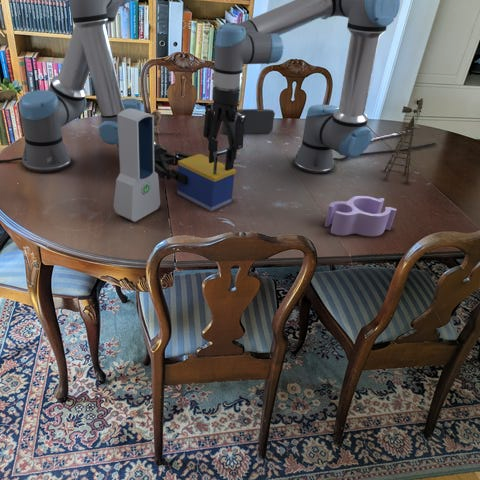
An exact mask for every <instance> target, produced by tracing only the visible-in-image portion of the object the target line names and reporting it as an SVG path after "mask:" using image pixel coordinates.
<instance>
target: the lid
mask: <svg viewBox="0 0 480 480" xmlns="http://www.w3.org/2000/svg"><path fill="white" fill-rule="evenodd" d="M227 149H229V146H226V147H224V148H221V149H217V151H215V152H213V156H214V162H213V163H209V156H206V155H204V154H202V153H197V154H194V155H191V157H188V158H185V159H182V160H179V161H178V165H180V166H182V167H184V168H187V169H189V170H191V171H193V172H195V173H197V174H199V175H201V176H203V177H205V178H207V179H210V180H212V181H214V182H216V181H218V180H221V179H223V178H225V177H228V176H230V175H233V174H234V175H235V174H236V173H237V169H235V168H233V169H231V170H228V171H226V170H225V168H226V158H225V160H224V163H223V162H220V161H218V157H221V156H224V155H225V157H226V156H227ZM178 165H177V166H178Z"/></svg>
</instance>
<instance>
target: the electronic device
mask: <svg viewBox="0 0 480 480" xmlns="http://www.w3.org/2000/svg"><path fill="white" fill-rule="evenodd" d="M151 114H152V113H148V112H145V111H144V112H142V111H139V110H136V109H132V108H129V109H125V110H123V111H121V112H120V113H119V114H118V115H117V118H118V138H119V148H118V154H119V155H118V156H119V174H118V176H117V177H116V180H115V190H114V198H113V205H112V206H113V209H114V212H115V213H116V214H117V215H118V216H120V217H123V218H124V219H127V220H129V221H131V222H133V223H136V222H137V221H139V220H141V219H142V218H145V217H146V216H148V215H150V214H151V213H153V212H155V211H157V210H158V209H159V208H160V206H161V193H160V181H159V179H160V178H159V176H158V174H157V173H156V172H154V143H155V126H154V115H151Z"/></svg>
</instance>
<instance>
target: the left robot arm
mask: <svg viewBox="0 0 480 480" xmlns="http://www.w3.org/2000/svg"><path fill="white" fill-rule="evenodd" d="M127 1H128V0H68V4H69V11H70V14H71V19H72V23H73V25H74V27H73V30H72V32H71V33H72V34H71V36H70V39H69V43H68V46H67V49H66V52H65V54H64V58H63V61H62V64H61V67H60V69H59V73H58V75H56V76H53V77H52V78H51V81H50V84H49V86H48V89H47V90H46V89H37V90H36V89H35V90H34V91H28V92H26V93H24V94H23V95H21V96H20V98H19V100H18V105H19V110H18V111H19V114H20V119H21V125H22V132H23V137H24V148H23V153H22V157H16V158H10V159H0V163H9V162H14V161H20V160H21V161H22V166H23V168H24V169H25V170H27V171H29V172H33V173H39V174H46V173H56V172H61V171H63V170H66V169H67V168H69V167H70V166H71V163H72V159H71V155H70V153H69V151H68V150H67V149H68V148H67V147H66V145H65V143H64V140H63V132H62V127H64V126H66V125H68V124H69V123H71V122H73V121H75V120H77V119H79V118H80V117H81V116H82V115H83V113H84V112H85V111H86V108H87V98H86V96H87V89H86V88H85V85H86V83H87V80H88V77H89V75H90V78H91V82H92V86H93V90H94V93H95V98H96V102H97V106H98V110H99V114H100V119H101V124H100V125H99V128H98V135H99V137H100V139H101V140H102V141H103V142H104V143H105V144H107V145H112V146H113V145H116V147H117V148H118V149H119V138H118V118H117V115H118V114H119V113H120V112H121V111H123V110H125V109H129V108H132V109H136V110H139V111H142V112H145V111H144V103H143V101H142V100H140V99H138V98H125V99H124V98H122V94H121V89H120V85H119V80H118V75H117V70H116V66H115V62H114V57H113V52H112V48H111V43H110V39H109V35H108V34H109V33H108V29H107V27H108V24H111V23H114V22H115V20H116V17H117V15H118V12H119V9H120V8H121V7H123V6H124V5H125V4H126V3H127ZM191 156H192V155H190V154H187V153H184V152H182V151H179V150H175V152H174V153H172V152H168V151H167V149H166V148H165V147H164V146H163V145H160V144H158V143H156V142H154V172H156V173H157V174H158V178H159V179H165V177H166V180H167V181H169V180H171V179H172V180H175V181H177V182H178V181H179V182H181V183H183V184H185V185H186V184H187V176H186V175H184V174H182V173H180V172H178V170H176V169H173V168H172V169H171V168H170V167H169V166H175V167H176V166H177V167H178V161H179V160H182V159H185V158H188V157H191Z"/></svg>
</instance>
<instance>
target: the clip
mask: <svg viewBox="0 0 480 480" xmlns="http://www.w3.org/2000/svg"><path fill="white" fill-rule="evenodd" d="M384 201H385V198H383V197H379V198H376V197H373V196H368V195H357V196H352V197H350V198H349V200H347V201H339V200H338V201H337V200H335V201H332V202H330V203H329V205H328V208H327V214H326V218H325V222H324V227H326V228H329V227H330V226H331V227H330V233H331V234H333V235H336V236H348V235H353V234H356V235H360V236H364V237H365V236H366V237H378V236H381V235H382V234H384V232H385V230H387V231H391V229H392V226H393V222H394V219H395V216H396V213H397V210H398V209H397V208H395V207H391V206H385V207H384V211H383V212H382V209H383V206H384Z"/></svg>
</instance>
